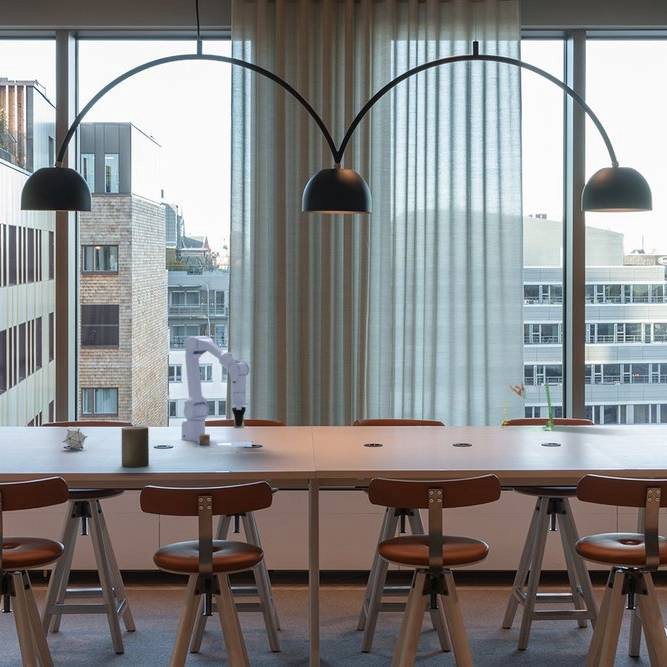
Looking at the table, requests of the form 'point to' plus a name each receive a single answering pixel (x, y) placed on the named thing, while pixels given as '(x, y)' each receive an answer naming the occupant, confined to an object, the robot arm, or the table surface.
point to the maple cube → (239, 426)
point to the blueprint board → (226, 444)
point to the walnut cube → (204, 439)
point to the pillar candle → (135, 446)
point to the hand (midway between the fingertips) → (238, 425)
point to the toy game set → (520, 392)
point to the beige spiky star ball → (75, 439)
